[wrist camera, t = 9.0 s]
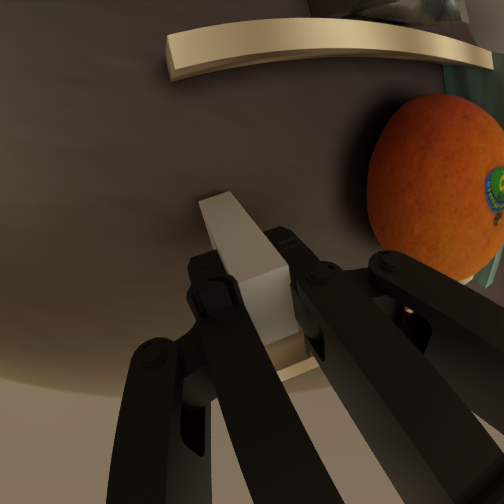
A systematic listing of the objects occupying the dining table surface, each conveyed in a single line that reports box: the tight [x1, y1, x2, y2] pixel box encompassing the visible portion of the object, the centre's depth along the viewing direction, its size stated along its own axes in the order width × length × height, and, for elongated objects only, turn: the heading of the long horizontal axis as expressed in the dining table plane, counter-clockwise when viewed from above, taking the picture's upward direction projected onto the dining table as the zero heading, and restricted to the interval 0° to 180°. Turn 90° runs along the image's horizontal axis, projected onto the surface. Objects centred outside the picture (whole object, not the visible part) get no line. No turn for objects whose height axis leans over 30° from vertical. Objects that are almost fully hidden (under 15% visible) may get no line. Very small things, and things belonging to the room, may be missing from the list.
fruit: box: [367, 94, 504, 281], centre depth 13 cm, size 11×10×8 cm
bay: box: [165, 18, 504, 382], centre depth 14 cm, size 19×17×6 cm
